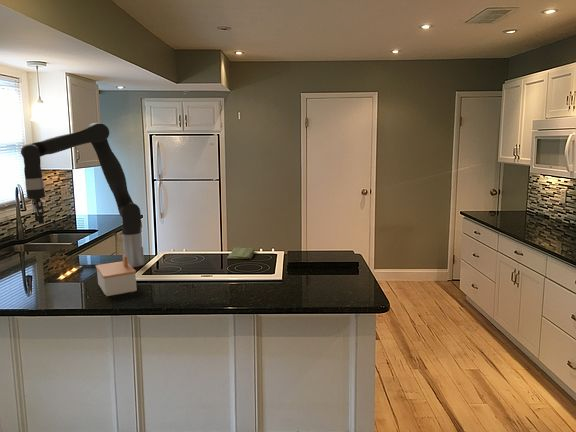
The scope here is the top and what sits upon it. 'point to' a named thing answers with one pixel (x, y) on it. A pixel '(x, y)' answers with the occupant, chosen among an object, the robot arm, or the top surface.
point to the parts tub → (117, 284)
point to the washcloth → (241, 253)
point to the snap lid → (115, 269)
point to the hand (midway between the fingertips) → (39, 222)
